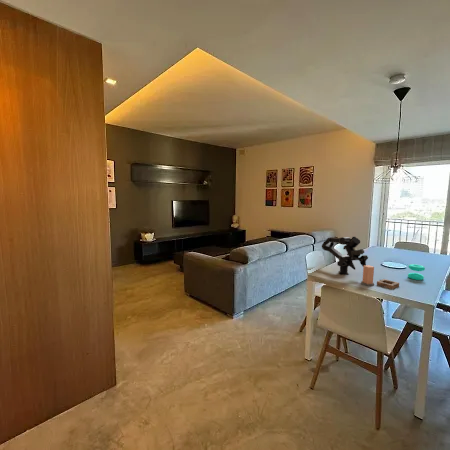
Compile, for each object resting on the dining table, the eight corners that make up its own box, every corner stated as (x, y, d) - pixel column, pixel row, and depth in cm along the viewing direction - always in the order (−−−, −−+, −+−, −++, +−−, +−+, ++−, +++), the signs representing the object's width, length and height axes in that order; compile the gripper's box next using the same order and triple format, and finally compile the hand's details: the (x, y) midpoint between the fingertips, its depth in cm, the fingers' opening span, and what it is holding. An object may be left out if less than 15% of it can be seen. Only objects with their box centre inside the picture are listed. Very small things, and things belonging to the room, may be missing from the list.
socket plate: (376, 284, 182) (377, 281, 182) (383, 282, 188) (384, 278, 188) (392, 289, 174) (392, 285, 174) (399, 286, 180) (399, 282, 179)
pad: (359, 281, 189) (359, 280, 189) (372, 282, 187) (372, 281, 187) (362, 285, 181) (362, 284, 181) (375, 286, 179) (375, 285, 179)
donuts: (424, 268, 189) (408, 265, 195) (423, 281, 190) (406, 278, 197) (425, 265, 197) (409, 263, 203) (424, 278, 198) (408, 275, 204)
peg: (362, 281, 185) (363, 265, 184) (367, 281, 186) (369, 265, 185) (367, 284, 181) (368, 267, 180) (372, 283, 182) (374, 267, 181)
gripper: (345, 245, 191) (355, 264, 182) (367, 244, 195) (377, 262, 186) (338, 253, 200) (347, 271, 191) (359, 252, 204) (368, 270, 195)
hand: (360, 269), depth 190 cm, fingers open, 9 cm apart
